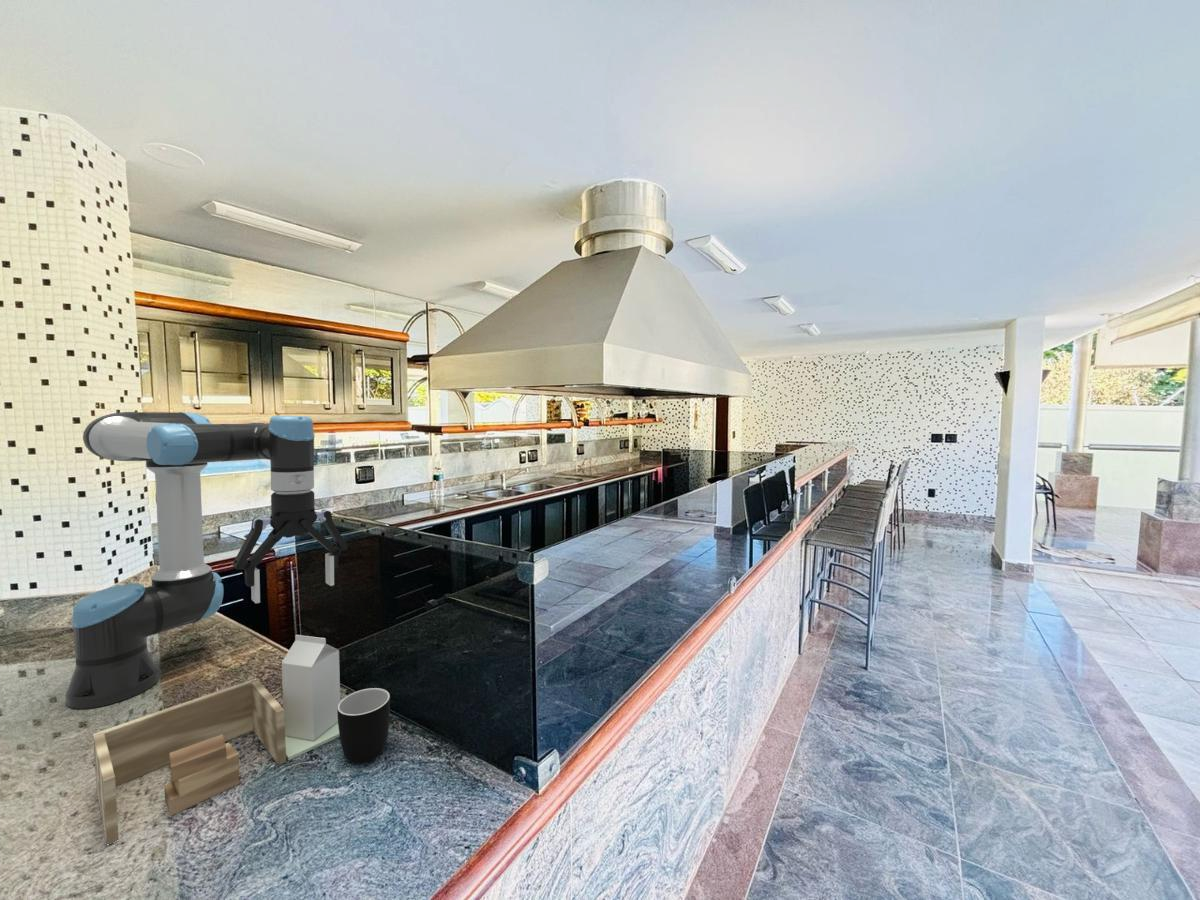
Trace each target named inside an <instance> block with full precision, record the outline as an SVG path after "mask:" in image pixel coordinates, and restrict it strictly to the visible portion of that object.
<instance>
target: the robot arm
mask: <svg viewBox="0 0 1200 900" xmlns="http://www.w3.org/2000/svg"><path fill="white" fill-rule="evenodd" d="M313 421H314V420H313V419H312V418H311V417H309V416H306V415H299V416H298V415H273V416H271V417H270V419H269V423H264V422H250V423H212V422H211V421H210V419H208V418H207V417H206V416H205V415H202V414H199V413H195V412H193V413H192V412H183V411H178V412H164V411H163V412H156V411H153V412H152V411H150V412H149V411H148V412H147V411H143V412H141V411H139V412H138V411H123V412H113V413H110V414H106V415H102V416H100V417H97V418H96V419H94V420H92V421H91V422H90V423H88V425H86V427H85V429H84V431H83V433H82V440H83V441H82V442H83V443H84V446H85V447H86V449H87V450H88V451H89V452H90V453H92V454H93V455H95V456H96V457H99V458H101V459H104V460H108V461H109V460H110V461H117V462H144V461H145V467H146V469H147V470H149V471H150V472H152V473H153V474H154V479H155V480H154V481H155V501H156V522H157V540H158V541H157V543H158V544H157V545H158V564H159V565H158V566H159V567H158V568H159V569H158V570H157V571H156V572H154V573H153V575H152V576H151V585H150V586H147V587H145V586H144V585H143V584H142V583H137V582H136V583H125V584H123V585H122V584H120V585H116V586H114V585H113V586H111V587H107V588H104V589H102V590H98V591H96V592H93V593H90V594H89V595H86V596H85V597H82V599H80V600H78V601H77V602H76V604H75V605H74V606H73V610H72V622H71V626H72V628H73V641H74V643H73V644H74V655H75V656H74V657H75V658H74V659H75V668H74V671H73V673H72V677H71V679H70V681H69V684H68V688H67V690H66V691H65V704H66V706H67V707H68V708H71V709H79V710H80V709H81V710H82V709H92V708H94V709H95V708H100V707H104V706H107V705H112V704H116V703H118V702H121V701H122V702H123V701H125V700H128V699H130V698H133V697H135V696H137V695H139V694H141V693H143V692H145V691H147V690H149V689H150V688H152V687H153V686H154V685H155V684H156V683H157V682H159V681H158V680H159V679H160V678H159V676H160V675H159V668H158V666H157V664H156V663H155V661H154V659H153V657H152V655H151V654H150V652H149V651H148V643H147V642H148V637H151V636H153V635H156V634H160V633H165V632H168V631H170V630H174V629H177V628H180V627H183V626H187V625H190V624H195V623H198V622H200V621H202V620H205V619H207V618H211V617H212V616H214V615H215V614H216V613H217V611H218V610H219V609H220V607H221V606H222V602H223V599H224V591H225V590H224V584H223V583H222V581H223V580H222V578H221V576H220V575H219V574H218V572H215V571H213V569H212V566H210V565H208V564H206V563H205V555H204V554H205V553H204V531H203V509H202V506H203V505H202V488H201V487H202V486H201V485H202V483H201V472H202V470H204V469H205V468H206V467H207V466H208V463H217V462H235V461H236V462H237V461H238V462H239V461H240V462H241V461H252V460H267V461H268V460H269V461H270V490H271V491H273V493H271V495H270V507H271V508H270V509H271V510H270V511H271V512H270V513H271V514H270V517H269V518H258V517H254V518H253V519H252V521H251V526H250V528H251V529H250V530H249V532H248V534H247V536H246V538H245V540H244V542H243V543H242V545H241V548H240V550H239V551H238V554H236V556H235V559H234V560H233V562H232V567H233V568H235V569H236V570H238V571H240V570H242V571H244V584H245V585H246V586H247V587H248V588H250V589H251V590H250V591H251V595H250V596H251V598H250V599H251V601H252V602H254V604H260V603H261V584H260V583H261V582H260V581H261V580H260V579H261V578H260V577H261V576H260V569H259V568H258V567H257V566H259V564H260V563H261V562H262V561H263V560H264V558H265V557H266V555H268V554H269V552H270V551H271V550H272V549H273V548H274V547H275V545H276V544H277V543H278V542H279V541H281V540H282V539H283V538H286V539H288V538H292V537H293V538H294V537H295V536H297V537H302V536H304V535H306V534H309V535H310V536H311V537H312V538H313V539H314V540H315V541H317V542H318V543H319V544H320V545H321V546H323V548H325V550H326V551H328V552H327V553H325V554H324V555H325V556H324V557H325V559H324V560H325V561H324V562H325V564H324V565H325V567H324V568H325V569H324V570H325V571H324V572H325V584H327V585H328V586H330V587H333V586H335V569H338V568H339V556H340V555H341V554H342V553H341V552H343V551H347V549H348V547H349V546H348V545H347V543H346V540H345V539H344V538H343V536H342V534H341V533H340V531H339V529H338V527H337V526H336V524H335V523H334V520H333V515H332V511H330V510H327V509H322V510H321V511H317V512H316V510H315V508H316V507H315V502H316V501H315V492H314V491H313V489H314V488H315V467H314V466H315V432H314V423H313ZM317 519H318V520H319V521H320V522H322V523H323V524H324V525H323V526H324V527H325V528H326V530H327V532H328V533H329V534H330V537H331V539H332V540H333V541H334V543H335V545H334V544H333V543H332V542H331V541H329V540H328V538H326V537H325V536H324V535H323V534H322V533H320V532H319V531H318V529H317V528H315V527H314V526H313V525H314V523H315V522H316V520H317ZM268 526H270V527H271V528H272V530H271V531H270V532H269V534H268V535H267V537H266V538H265V539H264V540H263V542H262V543H261V544H260V545H259V546H258V547H257V549H256V550H255V551H254V552H253V550H254V548H255V546H256V545H257V542H258V540H259V539H260V537H261V534H262V531H263V530H265V529H267V527H268ZM251 554H252V555H251ZM250 555H251V556H250Z"/></svg>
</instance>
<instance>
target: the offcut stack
mask: <svg viewBox="0 0 1200 900" xmlns="http://www.w3.org/2000/svg"><path fill="white" fill-rule="evenodd" d="M169 755H170V764H169V769H170V770H169V771H170V782H169V783H166V784H164V785H163V790H164V801H165V804H166V807H167V809H168V812H169V815H170V817H171V816H174V815H176V814H179V813H180V812H183V811H185V810H187V809H188V808H191V807H193V806H196V805H198V804H200V803H201V802H204V801H206V800H208V799H210V798H212V797H215V796H216V795H219V794H220V793H223V792H225V791H227V790H229V789H231V788H234V787H236V786H238V785H240V753H239V752H238V751H237V750H236V749H235V747H234V746H232V744H231V743H230V742H227V743H226V741H224V738H223V734H222V735H219V736H216V737H213V738H210V739H208V740H205V741H202V742H199V743H196V744H194V745H191V746H188V747H185V748H182V749H179V750H177V751H174V752H171V753H169Z"/></svg>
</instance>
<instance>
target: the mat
mask: <svg viewBox="0 0 1200 900" xmlns="http://www.w3.org/2000/svg"><path fill="white" fill-rule="evenodd" d="M337 738H340V734H339V727H338V722H336V723H335V724H334V725H333V726H331V727H330V728H329V729H328V730H326V731H325V732H324V733H323V734H322V735H320V736H319V737H318V738H317V739H315V740H314V741H313V740H307V739H301V738H296V737H290V736H285V744H286V760H287V761H291V760H292V759H295V758H297V757H299V756H302V755H304V754H306V753H307V752H310V751H311V750H314V749H316V748H318V747H320V746H322V745H325V744H326V743H328V742H331V741H333V740H336V739H337Z"/></svg>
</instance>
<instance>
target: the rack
mask: <svg viewBox="0 0 1200 900" xmlns="http://www.w3.org/2000/svg"><path fill="white" fill-rule="evenodd" d="M252 731H253V732H254V733H255V735H256V736H257V737H258V739H259V740H260V742H261V743H262V744H263V746H264V747H265V748H266V750H267V751H268V753H269V754H270V755H271V757H272V758H273V760H274V761H275V763H276V764H277V765H278V766H280V765H282V764H284V763H286V762H287V758H286V744H285V716H284V709H283V705H281V704H280V703H279V701H278V700H276V699H275V697H274V696H273V695H272V694H271V693H270V692H269V690H267V688H266V687H265V686H264V685H263V684H262V683H261V682H260V681H259V680H258V679H257V677H255V678H253V679H250V680H247V681H243V682H241V683H238V684H235V685H232V686H229V687H227V688H224V689H221V690H218V691H215V692H213V693H212V692H211V693H208V694H205V695H203V696H201V697H200V696H199V697H197V698H194V699H192V700H191V699H190V700H188V701H186V702H183V703H179V704H177V705H173V706H171V707H168V708H164V709H163V710H159V711H156V712H154V713H151V714H148V715H145V716H142V717H138V718H135V719H133V720H130V721H127V722H124V723H122V724H118V725H115V726H112V727H109V728H106V729H104V730H100V731H97V732H95V733H93V735H92V736H93V737H92V738H93V753H94V771H95V785H96V795H97V799H98V805H99V809H100V815H101V820H102V826H104V827H103V831H105V832H104V836H106V837H105V840H106V841H107V842H106V845H107V844H110V843H113V842H115V841H117V840H120V839H119V823H118V805H117V791H116V790H117V789H116V787H119V786H120V785H122V784H125V783H127V782H130V781H132V780H135V779H137V778H140V777H142V776H145V775H147V774H150V773H152V772H155V771H156V770H159V769H162V768H164V767H167V766H170V755H169V753H171V752H174V751H177V750H179V749H182V748H185V747H188V746H191V745H194V744H196V743H199V742H202V741H205V740H208V739H210V738H213V737H216V736H219V735H222V734H223V738H224V741H225V742H227V741H230V740H233V739H235V738H237V737H241V736H243V735H245V734H247V733H250V732H252ZM117 842H118V841H117ZM115 843H116V842H115ZM113 844H114V843H113Z"/></svg>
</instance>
